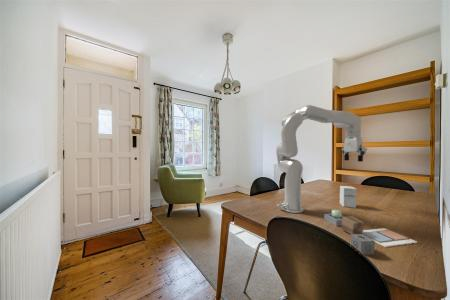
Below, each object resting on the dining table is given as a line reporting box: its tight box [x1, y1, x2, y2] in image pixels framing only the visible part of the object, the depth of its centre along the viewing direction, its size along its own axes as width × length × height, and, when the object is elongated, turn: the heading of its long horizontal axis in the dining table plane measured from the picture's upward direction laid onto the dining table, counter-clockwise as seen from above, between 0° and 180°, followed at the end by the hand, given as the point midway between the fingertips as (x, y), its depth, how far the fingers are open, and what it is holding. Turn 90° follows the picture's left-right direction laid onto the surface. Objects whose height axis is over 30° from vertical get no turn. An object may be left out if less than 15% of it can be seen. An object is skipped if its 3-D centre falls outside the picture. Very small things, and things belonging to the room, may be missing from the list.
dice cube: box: [350, 234, 376, 255], centre depth 65 cm, size 5×5×5 cm
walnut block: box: [340, 215, 365, 235], centre depth 78 cm, size 6×6×6 cm
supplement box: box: [339, 185, 357, 209], centre depth 115 cm, size 7×7×13 cm
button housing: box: [323, 213, 345, 227], centre depth 89 cm, size 8×8×3 cm
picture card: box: [362, 227, 418, 248], centre depth 74 cm, size 16×12×1 cm
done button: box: [331, 208, 343, 219], centre depth 89 cm, size 4×4×4 cm
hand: (353, 160), depth 114 cm, fingers open, 9 cm apart
